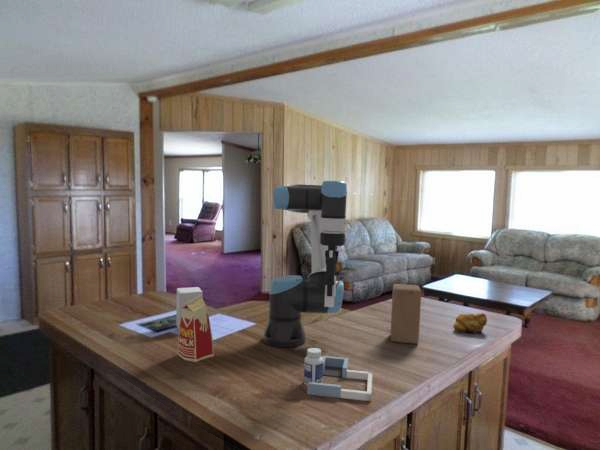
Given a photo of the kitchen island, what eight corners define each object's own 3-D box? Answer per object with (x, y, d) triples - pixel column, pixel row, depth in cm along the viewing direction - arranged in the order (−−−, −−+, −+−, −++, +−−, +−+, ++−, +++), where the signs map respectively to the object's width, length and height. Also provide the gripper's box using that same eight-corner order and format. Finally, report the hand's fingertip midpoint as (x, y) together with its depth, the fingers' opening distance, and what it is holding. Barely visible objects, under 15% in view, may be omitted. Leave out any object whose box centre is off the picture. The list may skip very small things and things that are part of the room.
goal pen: (340, 397, 120) (340, 390, 120) (344, 376, 134) (345, 369, 134) (370, 401, 119) (371, 393, 119) (372, 378, 133) (372, 372, 133)
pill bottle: (321, 379, 132) (322, 346, 131) (323, 387, 126) (324, 353, 125) (303, 379, 131) (304, 346, 131) (304, 387, 126) (305, 353, 125)
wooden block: (418, 345, 163) (421, 290, 162) (390, 342, 165) (392, 288, 164) (417, 336, 173) (419, 284, 171) (390, 333, 175) (392, 283, 173)
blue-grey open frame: (307, 394, 122) (307, 383, 122) (318, 364, 142) (318, 355, 142) (342, 398, 120) (342, 387, 120) (348, 367, 141) (348, 358, 141)
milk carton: (197, 348, 153) (197, 290, 151) (215, 355, 147) (215, 295, 146) (174, 356, 146) (174, 295, 144) (192, 363, 140) (192, 300, 139)
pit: (322, 375, 134) (322, 374, 134) (325, 366, 141) (325, 365, 141) (342, 377, 133) (342, 376, 133) (344, 368, 140) (344, 367, 140)
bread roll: (458, 335, 176) (459, 314, 176) (446, 327, 186) (447, 308, 185) (488, 334, 178) (490, 314, 177) (476, 326, 188) (477, 308, 187)
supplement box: (202, 330, 173) (203, 291, 172) (178, 332, 170) (179, 293, 169) (198, 323, 182) (199, 286, 180) (176, 325, 178) (176, 287, 177)
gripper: (344, 236, 124) (341, 312, 126) (345, 229, 149) (343, 292, 150) (317, 235, 125) (314, 311, 126) (322, 228, 149) (320, 291, 151)
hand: (330, 301), depth 138 cm, fingers open, 13 cm apart
